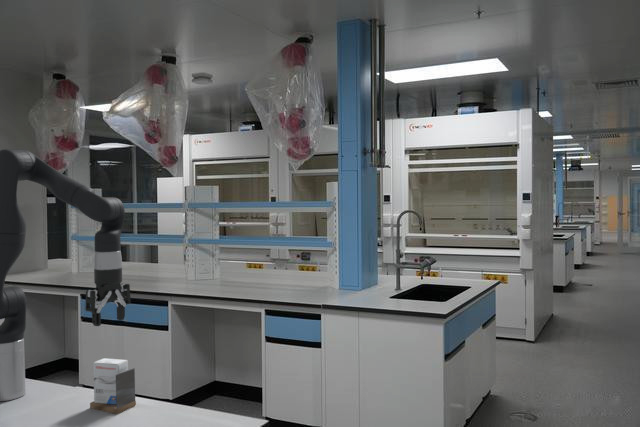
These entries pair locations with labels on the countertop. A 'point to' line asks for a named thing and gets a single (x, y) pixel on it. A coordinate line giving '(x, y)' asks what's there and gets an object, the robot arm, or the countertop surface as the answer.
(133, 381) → the wooden base bookend
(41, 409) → the countertop surface
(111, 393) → the ink box
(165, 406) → the countertop surface
